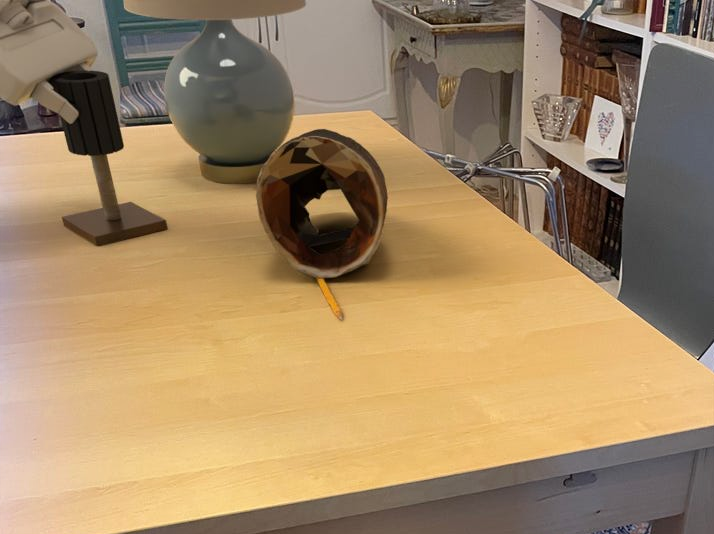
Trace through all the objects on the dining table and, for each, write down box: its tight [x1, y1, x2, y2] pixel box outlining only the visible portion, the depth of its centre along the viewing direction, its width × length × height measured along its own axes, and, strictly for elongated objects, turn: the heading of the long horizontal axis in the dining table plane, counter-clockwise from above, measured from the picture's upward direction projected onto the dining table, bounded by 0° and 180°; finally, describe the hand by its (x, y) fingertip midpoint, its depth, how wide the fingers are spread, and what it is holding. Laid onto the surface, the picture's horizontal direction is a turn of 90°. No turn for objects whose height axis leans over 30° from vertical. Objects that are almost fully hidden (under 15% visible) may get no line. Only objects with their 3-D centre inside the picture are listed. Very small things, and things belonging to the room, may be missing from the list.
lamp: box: [122, 0, 307, 185], centre depth 131 cm, size 25×25×39 cm
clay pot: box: [255, 128, 389, 279], centre depth 118 cm, size 15×15×25 cm
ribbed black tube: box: [50, 70, 125, 157], centre depth 116 cm, size 7×7×8 cm
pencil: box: [315, 277, 343, 320], centre depth 108 cm, size 1×13×1 cm, turn 19°
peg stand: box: [61, 154, 168, 247], centre depth 122 cm, size 10×10×10 cm
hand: (92, 110), depth 116 cm, fingers closed on ribbed black tube, 7 cm apart
